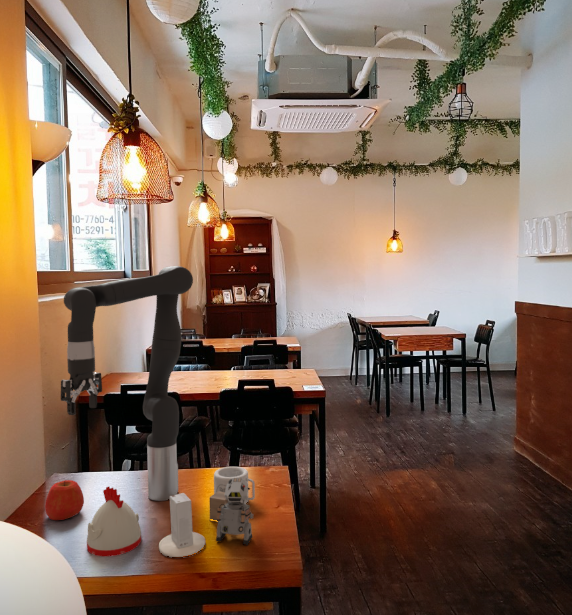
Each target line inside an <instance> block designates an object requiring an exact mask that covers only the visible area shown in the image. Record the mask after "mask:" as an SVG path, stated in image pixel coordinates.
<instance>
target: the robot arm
mask: <svg viewBox="0 0 572 615" xmlns="http://www.w3.org/2000/svg"><path fill="white" fill-rule="evenodd" d="M193 283H194V278H193V274H192V272H191V271H190V270H189V269H188V268H186V267H183V266H179V265H178V266H175V265H173V266H166V267H163V268H162V269H160V271H159V272H158V274H155V275H150V276H145V277H136V278H135V277H134V278H126V279H121V280H113V281H109V282H105V283H100V284H96V285H87V286H80V287H75V288H71V289H69V290H68V291H67V292H66V293H65V294H64V296H63V304H64V306H65V308H67V309H68V310H69V311H71V312H70V313H71V314H70V315H71V318H70V322H69V323H68V325H67V348H66V353H67V354H66V359H67V362H66V363H67V373H68V374H69V379H61V381H60V401H61V402H66V410H67V411H66V412H67V414H68V415H69V416H75V415H76V414H77V406H76V400H77V397H78V396H79V395H80V394H81V393H83V392H85V391H87V393H88V405H89V406H88V407H89V408H90V409H96V408H97V407H98V395H99V393H101V392H103V380H102V373H101V372H95V371H96V351H95V348H96V346H95V341H94V321H95V316H96V309H97V308H98V307H110V306H116V305H120V304H125V303H129V302H132V301H137V300H140V299H144V298H149V297H154V296H156V308H155V315H154V326H153V334H152V339H151V340H152V341H151V349H150V360H149V361H150V362H149V371H148V380H147V383H146V389H145V394H144V398H143V402H142V413H143V415H144V416H145V418H146V419H147V420H149V421H151V422H152V424H151V425H152V426H151V427H152V428H151V430H152V431H151V433H149V434H148V435H147V439H146V443H147V444H146V448H147V454H146V455H147V488H148V490H147V493H148V494H147V495H148V496H147V497H148V499H149V500H152V501H155V502H156V501H157V502H164V501H168V499H169V500H170V496H172V495H177V494H178V492H179V464H178V461H177V456H178V455H177V438H178V435H179V432H180V431H179V430H180V428H179V427H180V426H179V425H180V423H179V422H180V408H179V404H178V401H177V400H176V399H175V398H174V397H172V396H170V395H168V394H169V393H168V392H169V382H170V377H171V375H172V372H173V371H174V368H175V367H176V365H177V362H178V361H179V358H180V354H181V349H182V348H181V347H182V327H181V324H180V320H179V316H178V300H179V296H180V295H182V294H186V293H187V292H188V291H189V290H191V288H192V286H193Z"/></svg>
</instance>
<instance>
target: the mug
mask: <svg viewBox="0 0 572 615" xmlns="http://www.w3.org/2000/svg"><path fill="white" fill-rule="evenodd" d="M233 478H242V479H243V480H244V481H245V482H246V483H247V484H248V485H249V482H250V483H251V484H252V485H251V487H252V488H251V489H252V490H251V491H252V492H251V493H252V494H251V495H252V497H249V491H248V492H247V497H246V499H245V501H244V504H246V503H247V502H248V503H249V501H253V500H254V499H255V497H256V496H255V495H256V492H255V491H256V490H255V488H256V487H255V486H256V485H255V481H254V480H253V479H252V478H249V471H248V470H247V469H246V468H245V467H241V466H225V467H220V468H219V469H216V470H215V471H214V473H213V484H214V485H213V495H214V494H215V493H216V492H217V491H220V492H225V490H226V486H227V484H228V483H229V480H231V479H233ZM241 502H242V503H243V500H242V501H241ZM248 503H247V504H248ZM247 504H246V505H247Z"/></svg>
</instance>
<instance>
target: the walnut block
mask: <svg viewBox="0 0 572 615" xmlns="http://www.w3.org/2000/svg"><path fill="white" fill-rule="evenodd" d="M224 494H225V492H220V491H217V492H216V493H215V494H214V493H213V494H212V495H211V496H209V520H210V519H213V520H217V510H218V508H219V506H220V505H221V504H227V503H228V500H226V498H225V495H224ZM221 506H223V505H221ZM221 506H220V508H221Z"/></svg>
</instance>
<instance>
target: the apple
mask: <svg viewBox="0 0 572 615" xmlns="http://www.w3.org/2000/svg"><path fill="white" fill-rule="evenodd" d="M84 504H85V498H84V493H83V491H82V488H81V487H80V485H79V483H78V482H77V481H75V480H71V479H68V480H67V479H65V480H61V481H57V482H56V483H54V484H52V486H51V487H50V489H49V491H48V493H47V495H46V498H45V505H44V506H45V507H44V508H45V514H46V515H47V517H48V518H49V519H50V520H52V521H61V520H63V521H64V520H66V519H70V518H72V517H74V516H77V515H78V514H80V512H81V511H82V510H83V506H84Z"/></svg>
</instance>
